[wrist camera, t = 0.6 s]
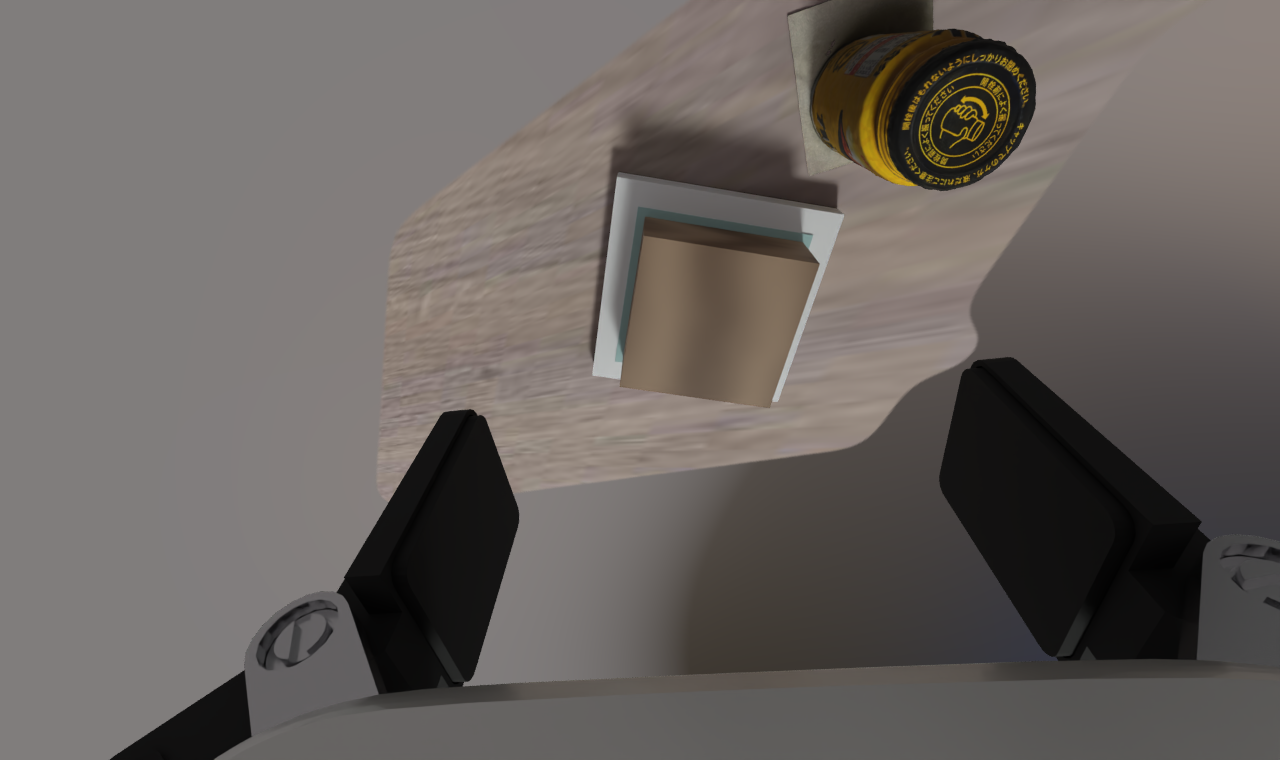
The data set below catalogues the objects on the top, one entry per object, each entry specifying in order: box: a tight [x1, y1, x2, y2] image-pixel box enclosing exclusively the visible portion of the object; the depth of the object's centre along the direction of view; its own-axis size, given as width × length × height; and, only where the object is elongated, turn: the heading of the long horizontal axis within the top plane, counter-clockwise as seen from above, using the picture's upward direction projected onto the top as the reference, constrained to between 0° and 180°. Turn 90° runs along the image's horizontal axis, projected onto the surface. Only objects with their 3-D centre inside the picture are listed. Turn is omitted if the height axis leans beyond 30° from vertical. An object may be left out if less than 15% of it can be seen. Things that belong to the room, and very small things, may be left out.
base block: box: [620, 217, 820, 408], centre depth 33 cm, size 10×10×4 cm
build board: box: [592, 172, 844, 402], centre depth 36 cm, size 14×14×2 cm
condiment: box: [787, 0, 1036, 191], centre depth 24 cm, size 7×8×12 cm
